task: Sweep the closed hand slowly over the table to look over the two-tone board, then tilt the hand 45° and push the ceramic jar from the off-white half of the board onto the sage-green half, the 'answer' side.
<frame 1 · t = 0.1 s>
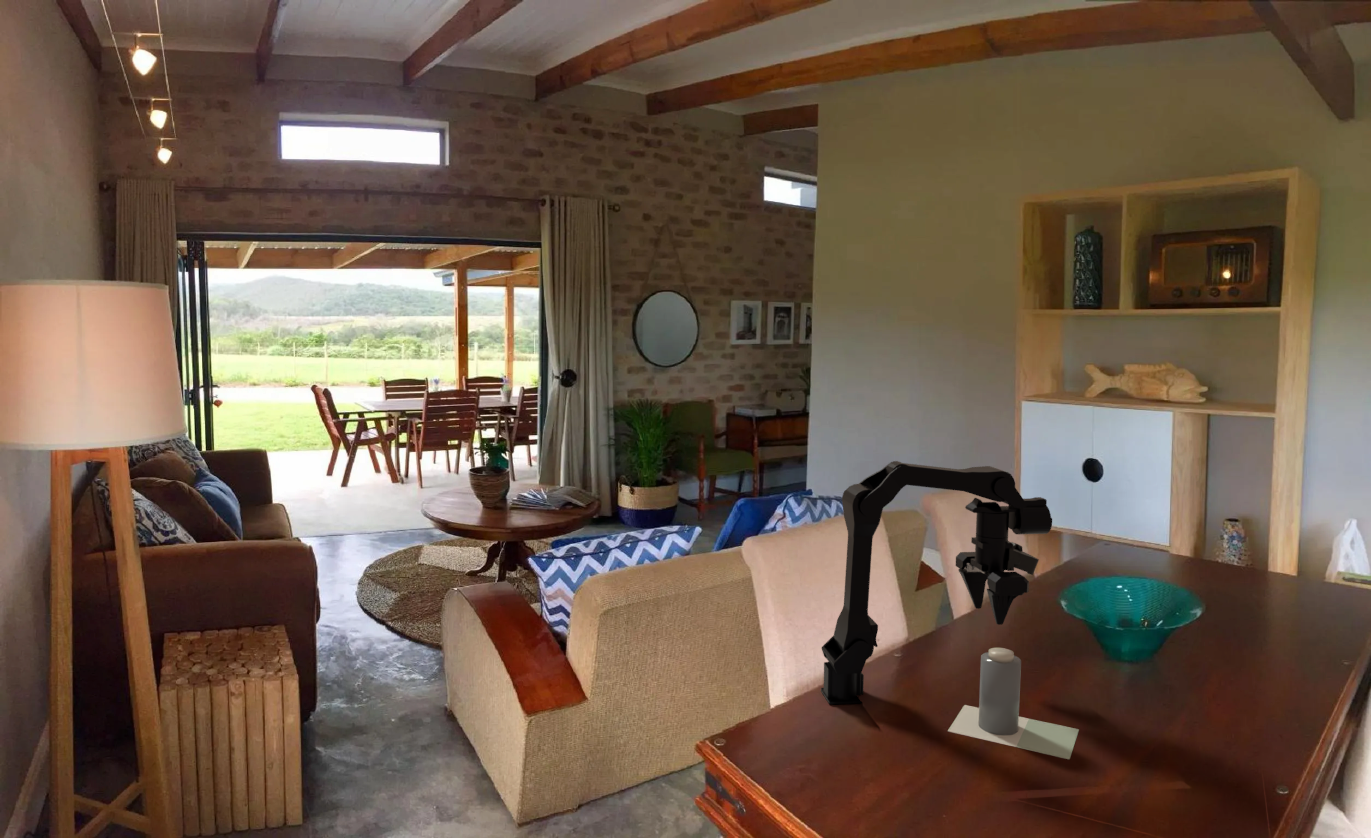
hand: (988, 616, 166), 14 cm above the table, tool pointing down, fingers open, 9 cm apart
jar: (998, 726, 150), point 1 cm above the table, touching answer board
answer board: (1048, 742, 146), on the table
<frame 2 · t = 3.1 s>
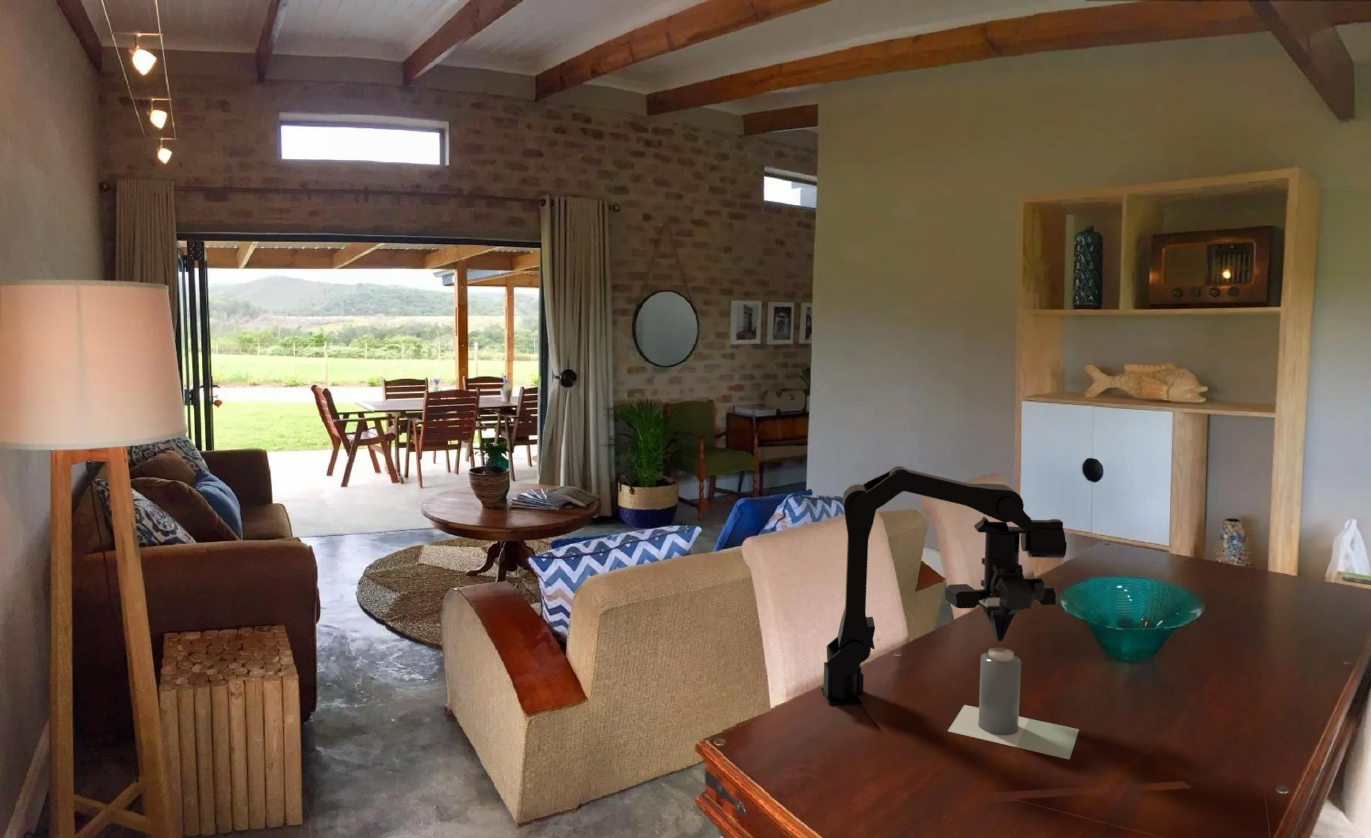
hand: (999, 640, 159), 12 cm above the table, tool pointing down, fingers closed
nothing on the table moved.
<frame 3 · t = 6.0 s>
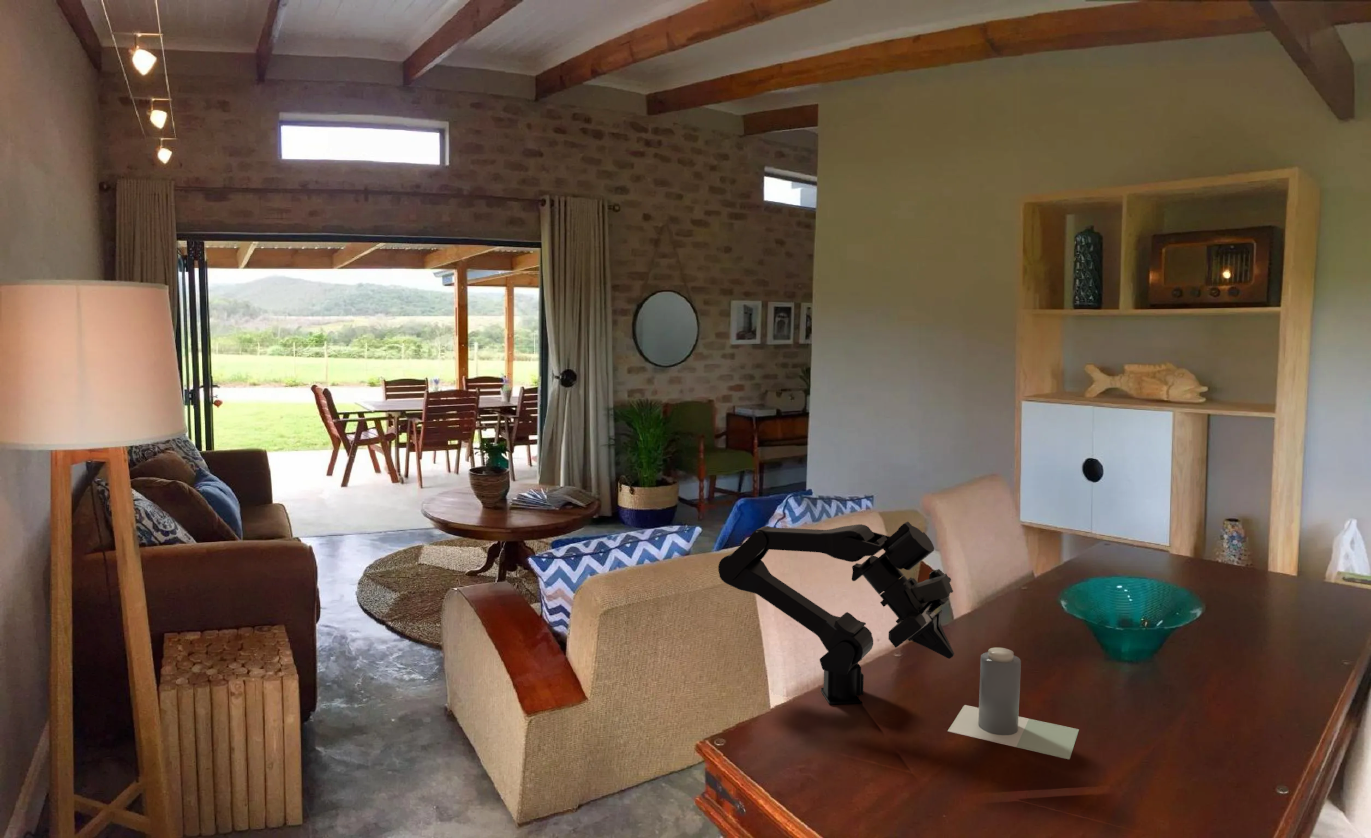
hand: (952, 656, 153), 12 cm above the table, tool tilted 45°, fingers closed
nothing on the table moved.
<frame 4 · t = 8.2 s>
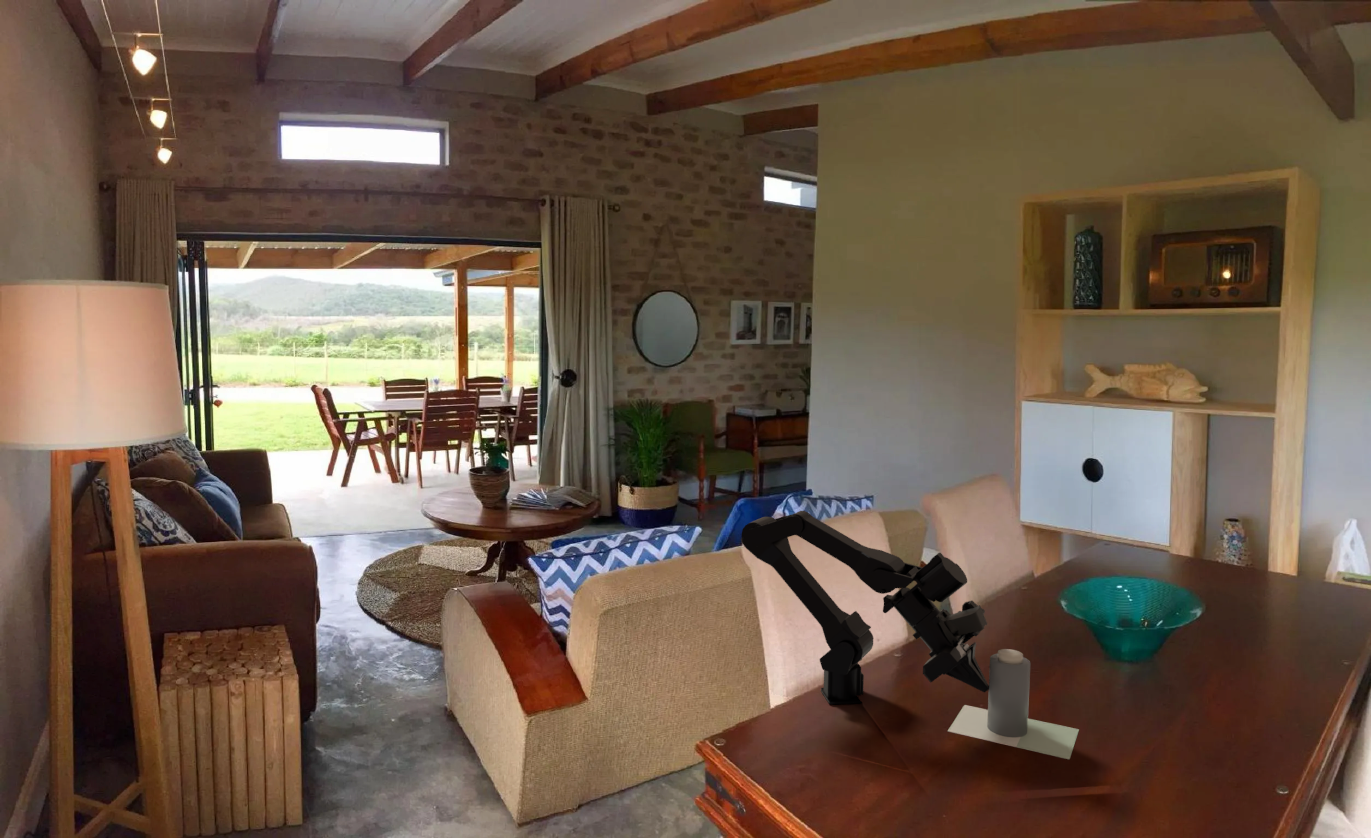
hand: (987, 690, 151), 7 cm above the table, tool tilted 45°, fingers closed
jar: (1007, 728, 149), point 1 cm above the table
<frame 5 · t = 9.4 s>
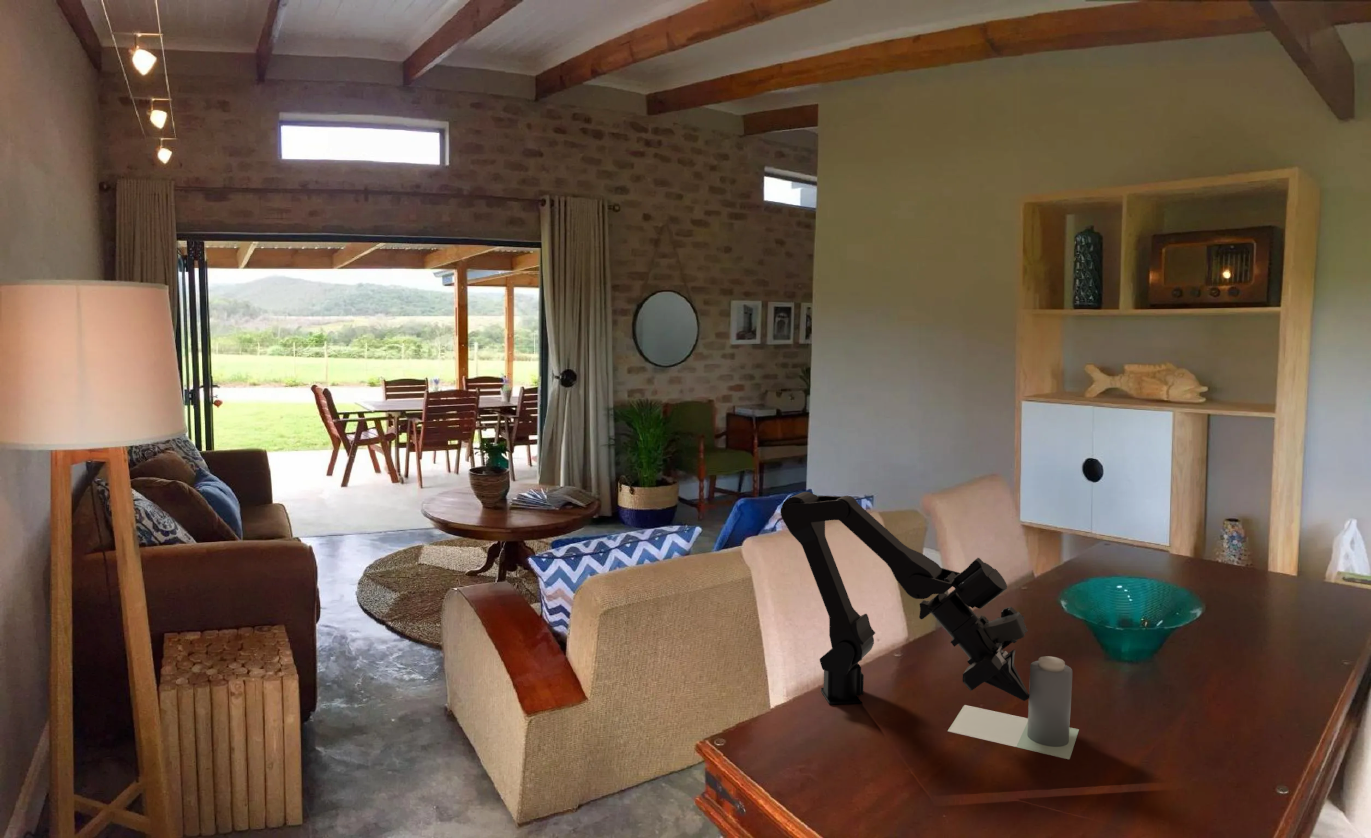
hand: (1027, 698, 147), 7 cm above the table, tool tilted 45°, fingers closed
jar: (1047, 737, 146), point 1 cm above the table, touching gripper
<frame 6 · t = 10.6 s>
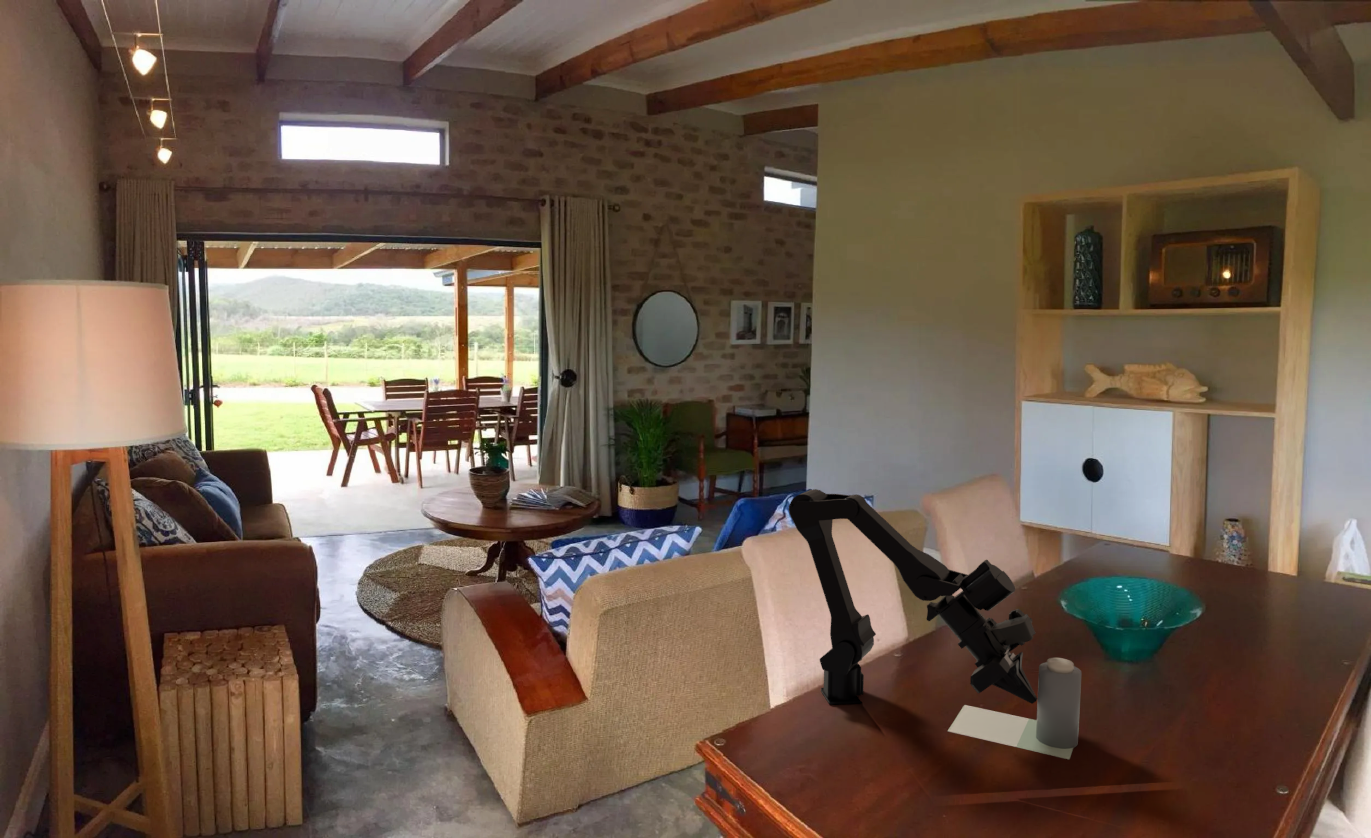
hand: (1034, 701, 147), 7 cm above the table, tool tilted 45°, fingers closed
jar: (1056, 739, 146), point 1 cm above the table, touching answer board
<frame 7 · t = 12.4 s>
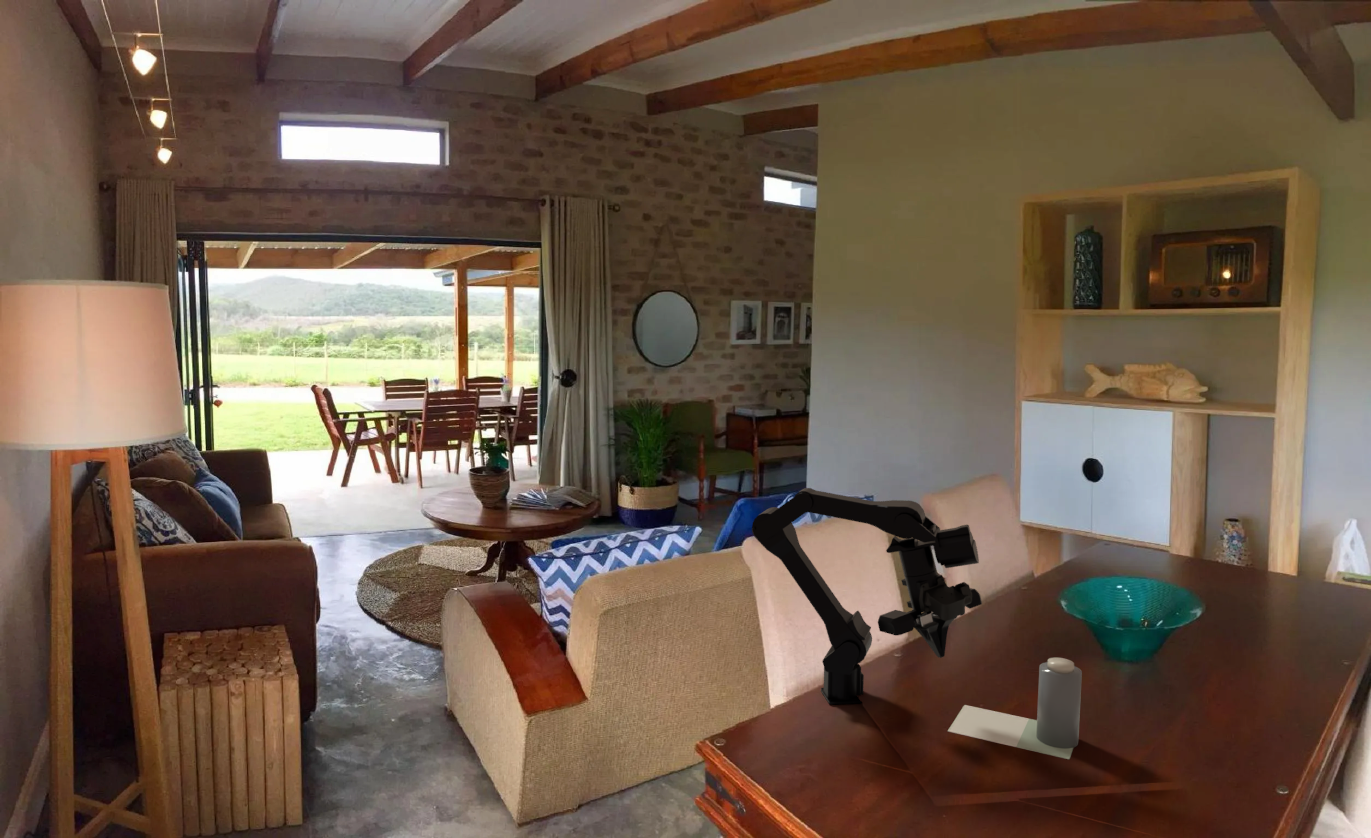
hand: (941, 656, 157), 10 cm above the table, tool tilted 15°, fingers closed
nothing on the table moved.
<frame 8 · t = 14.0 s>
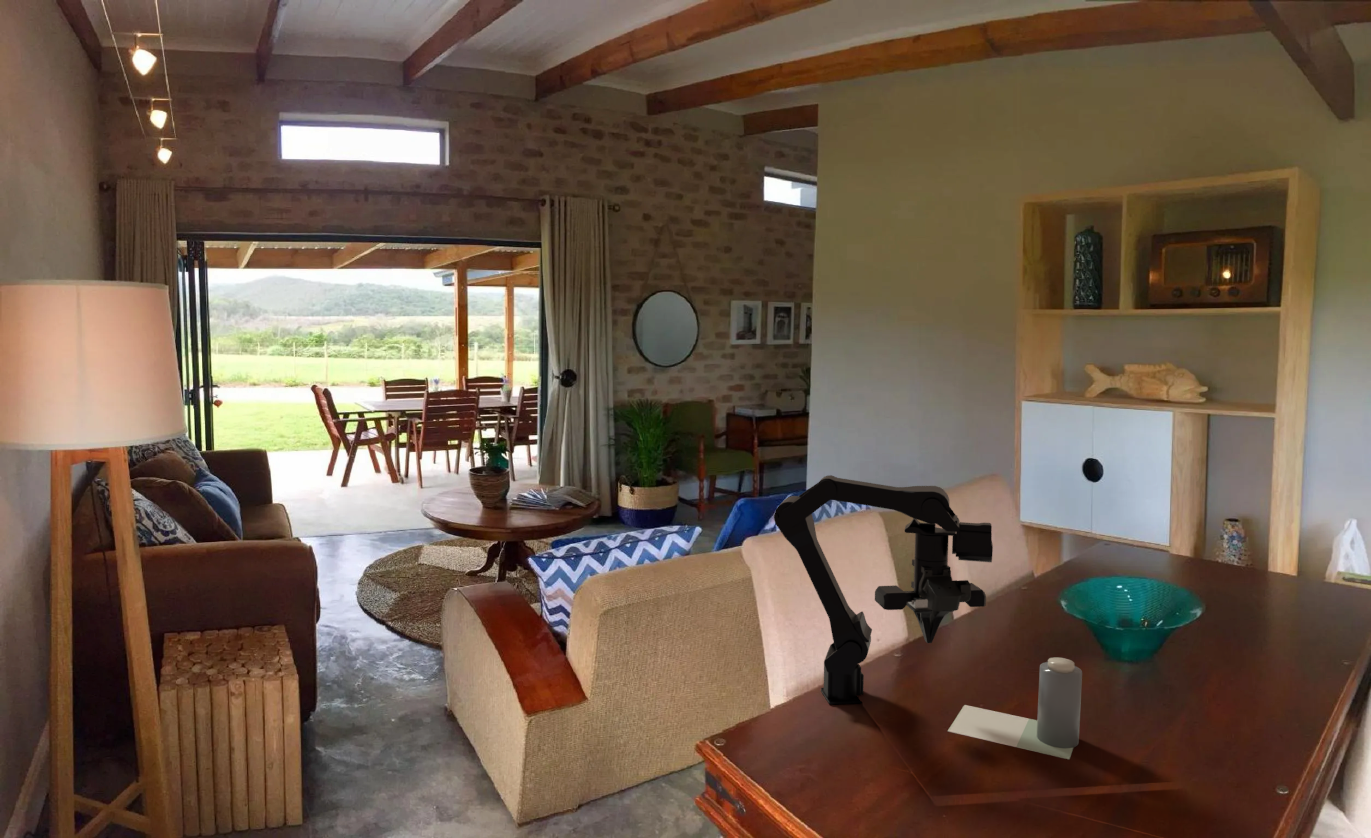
hand: (928, 642, 159), 12 cm above the table, tool pointing down, fingers closed
nothing on the table moved.
at the end: jar 1.4 cm from the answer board (horizontally); jar tilted 0°; jar moved 9.4 cm from its start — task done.
